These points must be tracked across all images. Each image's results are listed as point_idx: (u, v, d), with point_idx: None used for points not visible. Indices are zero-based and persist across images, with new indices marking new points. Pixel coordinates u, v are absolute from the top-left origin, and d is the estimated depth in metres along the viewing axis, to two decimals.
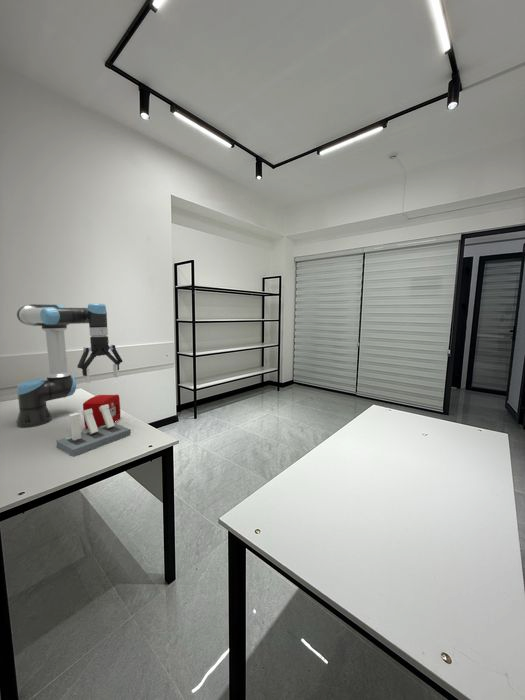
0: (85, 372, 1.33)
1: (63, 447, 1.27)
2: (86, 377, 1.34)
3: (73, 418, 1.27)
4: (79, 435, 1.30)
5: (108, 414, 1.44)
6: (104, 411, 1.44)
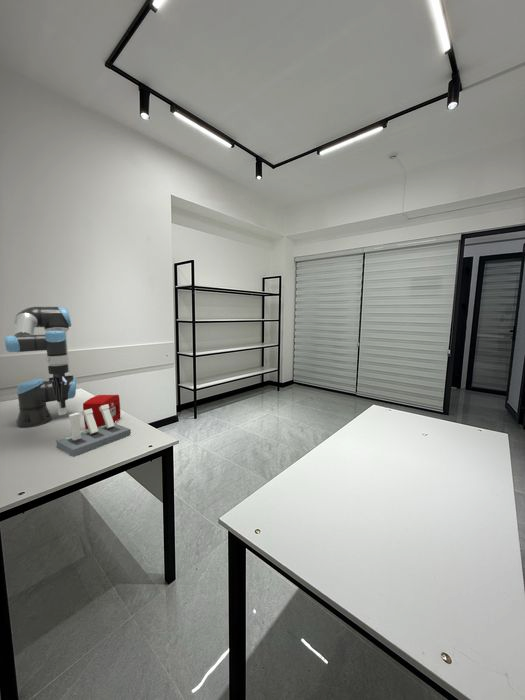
0: None
1: (63, 447, 1.27)
2: None
3: (73, 418, 1.27)
4: (79, 435, 1.30)
5: (108, 414, 1.44)
6: (104, 411, 1.44)
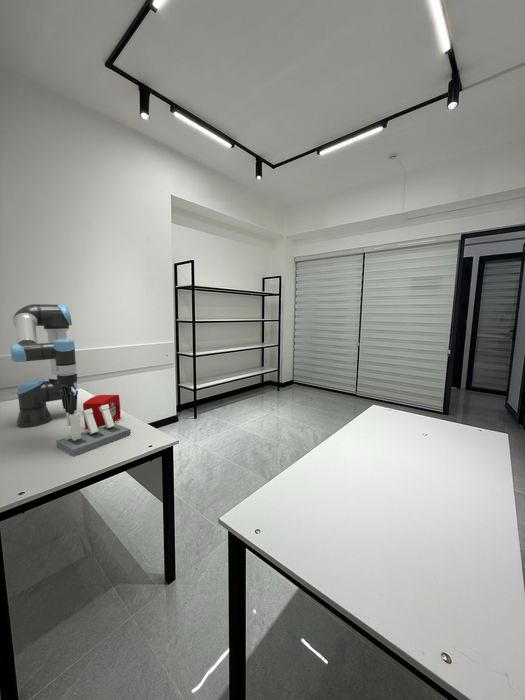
0: None
1: (63, 447, 1.27)
2: None
3: (73, 418, 1.27)
4: (79, 435, 1.30)
5: (108, 414, 1.44)
6: (104, 411, 1.44)
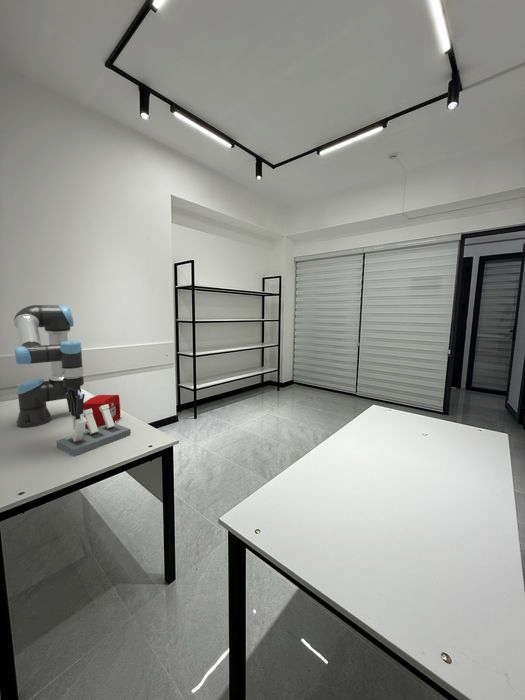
0: None
1: (63, 447, 1.27)
2: None
3: (79, 425, 1.25)
4: (80, 437, 1.30)
5: (108, 414, 1.44)
6: (104, 411, 1.44)
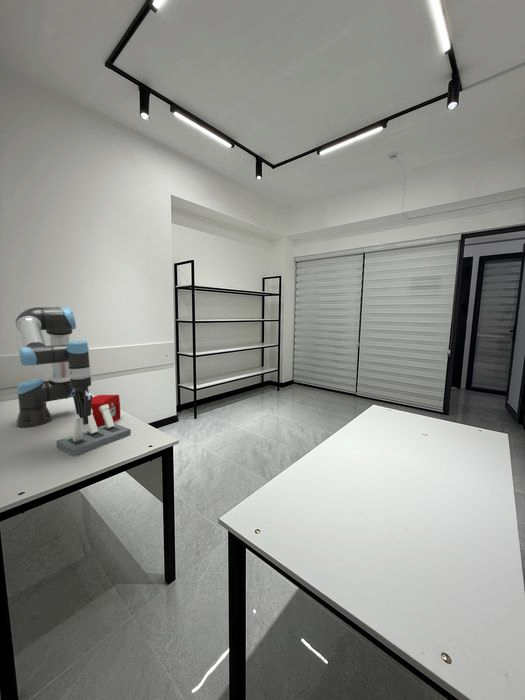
0: None
1: (63, 447, 1.27)
2: None
3: (79, 424, 1.25)
4: (80, 437, 1.30)
5: (108, 414, 1.44)
6: (104, 411, 1.44)
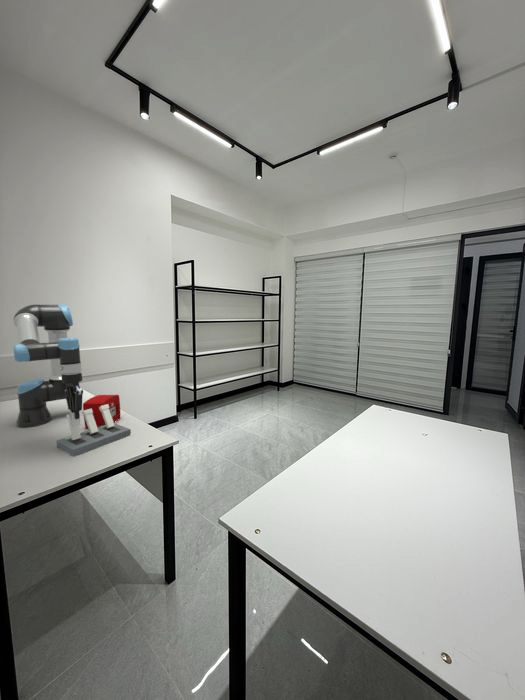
0: None
1: (63, 447, 1.27)
2: None
3: (71, 417, 1.28)
4: (78, 434, 1.30)
5: (108, 414, 1.44)
6: (104, 411, 1.44)
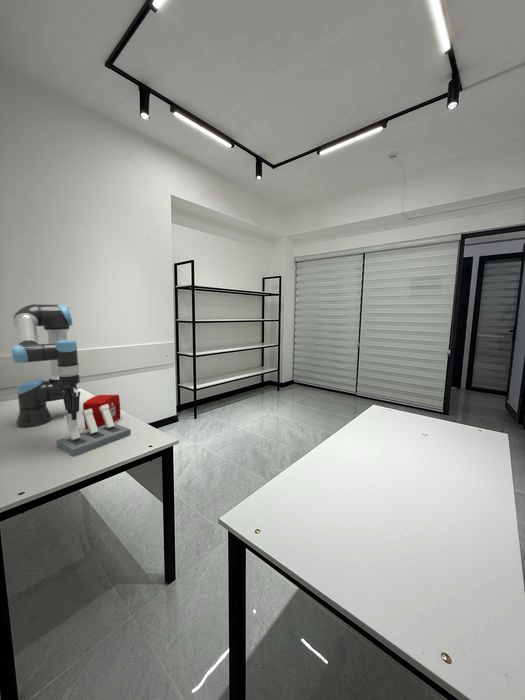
0: None
1: (63, 447, 1.27)
2: None
3: (68, 417, 1.30)
4: (78, 434, 1.31)
5: (108, 414, 1.44)
6: (104, 411, 1.44)
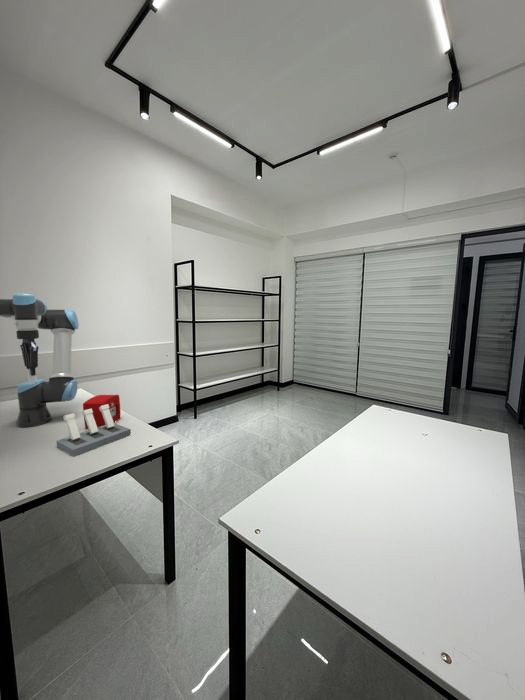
0: None
1: (63, 447, 1.27)
2: None
3: (67, 417, 1.30)
4: (78, 434, 1.31)
5: (108, 414, 1.44)
6: (104, 411, 1.44)
